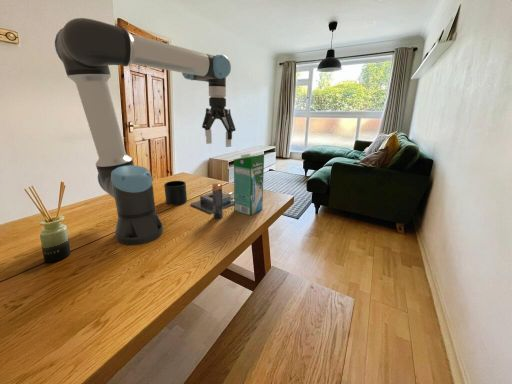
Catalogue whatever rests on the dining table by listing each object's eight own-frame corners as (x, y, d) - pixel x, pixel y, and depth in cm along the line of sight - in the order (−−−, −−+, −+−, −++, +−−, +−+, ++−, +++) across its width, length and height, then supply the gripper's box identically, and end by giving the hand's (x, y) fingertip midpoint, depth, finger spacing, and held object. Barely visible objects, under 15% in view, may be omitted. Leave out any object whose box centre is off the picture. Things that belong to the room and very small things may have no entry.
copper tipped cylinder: (217, 220, 99) (216, 186, 94) (211, 217, 101) (210, 184, 96) (224, 217, 101) (223, 184, 97) (218, 214, 104) (217, 182, 99)
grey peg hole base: (210, 213, 104) (209, 205, 103) (190, 205, 113) (190, 197, 111) (245, 200, 120) (245, 192, 119) (226, 193, 129) (226, 186, 127)
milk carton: (246, 204, 115) (247, 151, 107) (262, 209, 110) (264, 153, 102) (234, 210, 108) (233, 153, 100) (250, 215, 103) (251, 156, 95)
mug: (191, 197, 123) (190, 179, 120) (182, 206, 111) (180, 187, 108) (173, 196, 124) (172, 178, 121) (162, 204, 112) (160, 186, 109)
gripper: (243, 97, 105) (243, 147, 112) (206, 97, 120) (207, 141, 127) (231, 96, 100) (231, 149, 106) (193, 97, 115) (195, 142, 121)
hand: (218, 145), depth 117 cm, fingers open, 13 cm apart
